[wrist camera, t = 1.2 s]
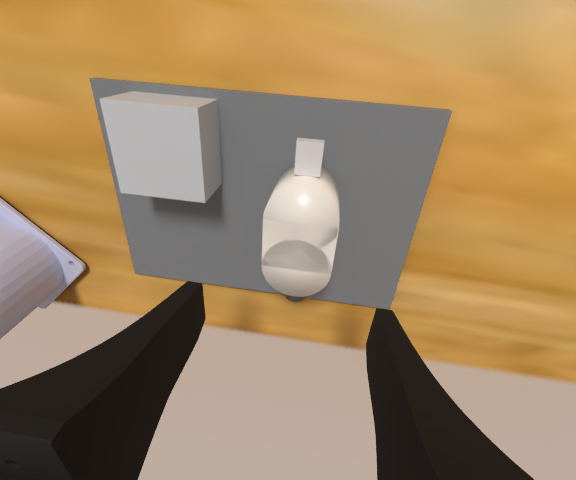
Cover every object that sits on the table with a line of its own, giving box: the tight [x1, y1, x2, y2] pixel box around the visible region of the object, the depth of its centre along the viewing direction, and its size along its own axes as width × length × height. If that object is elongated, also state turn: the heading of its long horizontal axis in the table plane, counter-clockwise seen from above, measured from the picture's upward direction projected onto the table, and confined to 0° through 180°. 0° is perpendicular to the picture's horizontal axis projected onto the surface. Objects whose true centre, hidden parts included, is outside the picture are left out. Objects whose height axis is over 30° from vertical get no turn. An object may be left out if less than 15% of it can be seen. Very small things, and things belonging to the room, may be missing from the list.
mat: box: [90, 78, 452, 309], centre depth 21 cm, size 20×14×1 cm
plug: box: [262, 138, 339, 302], centre depth 19 cm, size 10×4×4 cm, turn 176°
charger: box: [100, 91, 222, 203], centre depth 18 cm, size 5×5×3 cm
